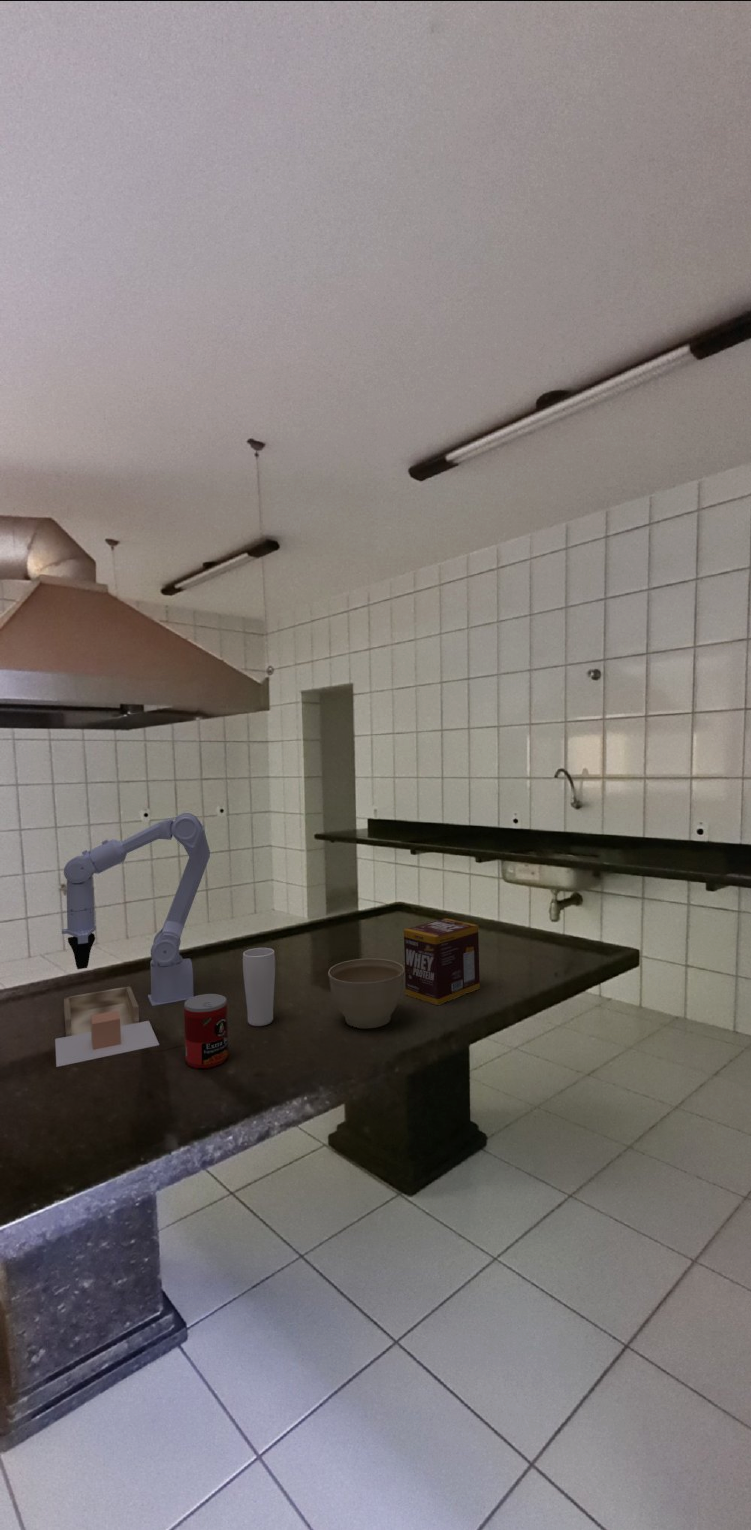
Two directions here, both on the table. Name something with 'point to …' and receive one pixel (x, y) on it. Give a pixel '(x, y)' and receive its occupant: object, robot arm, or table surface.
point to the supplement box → (441, 960)
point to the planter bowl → (366, 990)
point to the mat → (82, 1049)
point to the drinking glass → (259, 984)
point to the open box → (99, 1008)
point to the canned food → (206, 1030)
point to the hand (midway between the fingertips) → (82, 968)
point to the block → (105, 1030)
